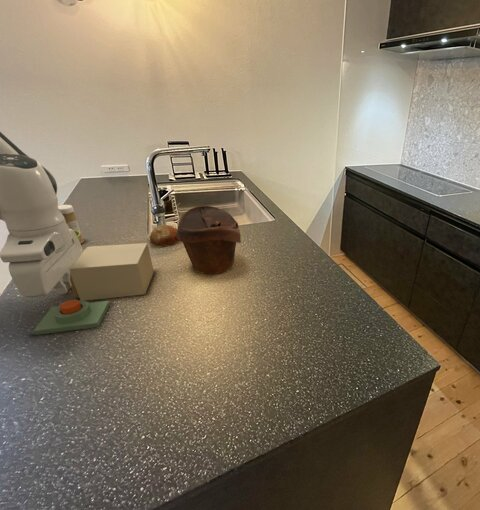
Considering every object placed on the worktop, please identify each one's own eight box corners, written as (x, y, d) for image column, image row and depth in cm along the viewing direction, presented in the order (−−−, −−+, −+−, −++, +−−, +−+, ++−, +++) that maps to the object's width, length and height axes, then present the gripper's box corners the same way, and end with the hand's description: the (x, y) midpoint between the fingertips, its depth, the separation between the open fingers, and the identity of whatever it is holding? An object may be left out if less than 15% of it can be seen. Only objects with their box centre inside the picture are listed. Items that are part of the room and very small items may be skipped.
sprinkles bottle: (65, 243, 107) (51, 206, 100) (80, 239, 110) (67, 203, 104) (72, 246, 105) (58, 209, 99) (87, 242, 108) (75, 206, 102)
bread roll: (160, 244, 119) (146, 228, 114) (185, 232, 120) (172, 215, 115) (157, 256, 111) (141, 238, 106) (183, 243, 112) (169, 225, 107)
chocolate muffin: (222, 285, 91) (215, 230, 83) (168, 270, 96) (157, 217, 88) (255, 260, 106) (252, 211, 98) (208, 248, 112) (201, 201, 103)
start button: (59, 315, 71) (56, 309, 70) (65, 306, 74) (63, 300, 73) (78, 313, 72) (75, 307, 71) (83, 304, 75) (81, 298, 74)
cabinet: (80, 301, 80) (68, 268, 75) (97, 276, 91) (87, 246, 86) (145, 294, 85) (137, 263, 80) (153, 271, 95) (147, 242, 91)
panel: (34, 335, 68) (29, 324, 67) (53, 310, 76) (49, 300, 75) (98, 326, 72) (94, 316, 71) (110, 304, 80) (107, 294, 78)
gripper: (47, 218, 72) (67, 269, 78) (-8, 259, 55) (24, 320, 61) (79, 217, 74) (96, 267, 80) (37, 256, 57) (62, 315, 63)
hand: (65, 290), depth 70 cm, fingers closed
